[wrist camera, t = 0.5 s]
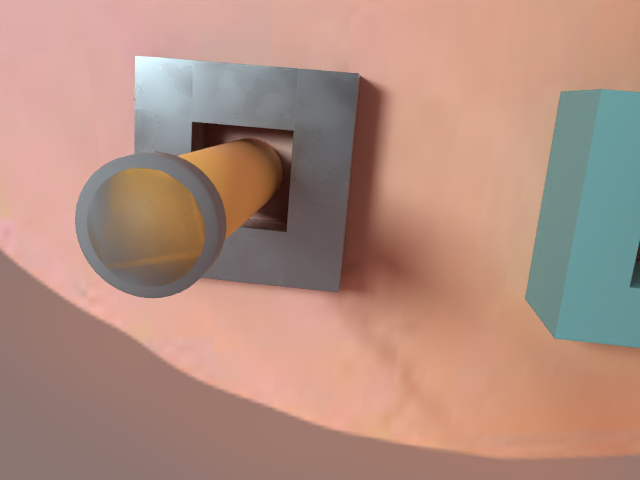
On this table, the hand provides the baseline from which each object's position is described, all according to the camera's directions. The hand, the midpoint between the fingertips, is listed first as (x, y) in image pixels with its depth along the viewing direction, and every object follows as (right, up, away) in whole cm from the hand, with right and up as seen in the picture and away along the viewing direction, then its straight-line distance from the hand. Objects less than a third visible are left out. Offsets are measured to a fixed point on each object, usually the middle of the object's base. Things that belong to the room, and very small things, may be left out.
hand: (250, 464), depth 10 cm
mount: (-3, +8, +25) cm, 26 cm away
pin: (-3, +8, +25) cm, 26 cm away
